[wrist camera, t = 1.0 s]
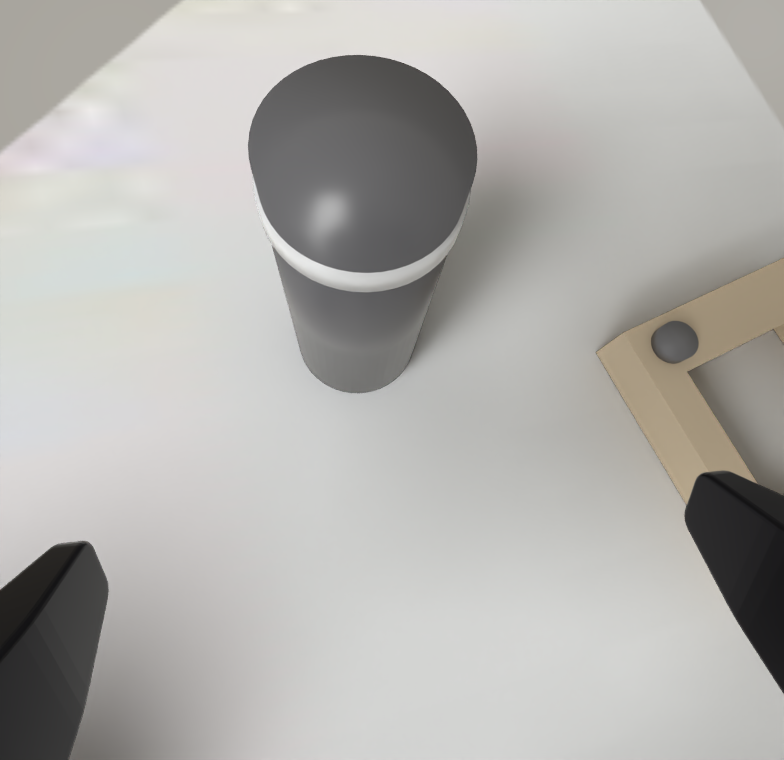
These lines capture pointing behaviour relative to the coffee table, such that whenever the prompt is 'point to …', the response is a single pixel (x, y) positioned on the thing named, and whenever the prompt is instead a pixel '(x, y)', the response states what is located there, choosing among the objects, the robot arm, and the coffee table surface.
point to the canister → (360, 207)
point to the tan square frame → (683, 353)
